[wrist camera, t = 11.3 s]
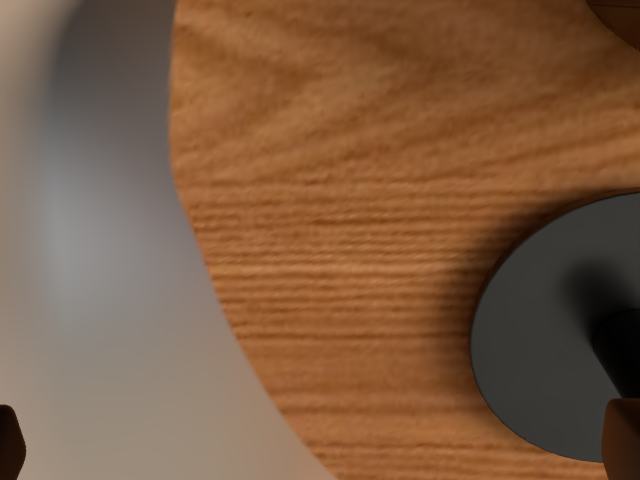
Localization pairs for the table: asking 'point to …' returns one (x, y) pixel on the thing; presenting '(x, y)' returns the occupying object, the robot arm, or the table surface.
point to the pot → (620, 18)
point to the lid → (562, 325)
